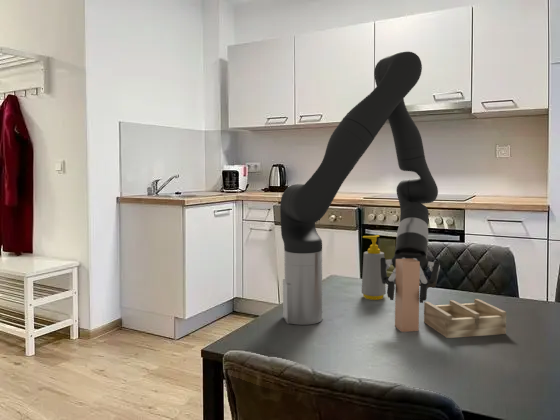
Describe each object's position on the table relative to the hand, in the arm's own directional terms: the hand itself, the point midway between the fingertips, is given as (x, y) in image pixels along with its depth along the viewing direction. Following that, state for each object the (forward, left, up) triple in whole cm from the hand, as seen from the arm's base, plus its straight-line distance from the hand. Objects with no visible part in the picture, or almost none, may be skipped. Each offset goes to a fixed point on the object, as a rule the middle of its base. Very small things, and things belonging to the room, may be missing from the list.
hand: (406, 299), depth 108 cm
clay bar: (+1, +1, -7) cm, 8 cm away
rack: (+14, -1, -7) cm, 16 cm away
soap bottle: (+3, +28, -7) cm, 30 cm away
